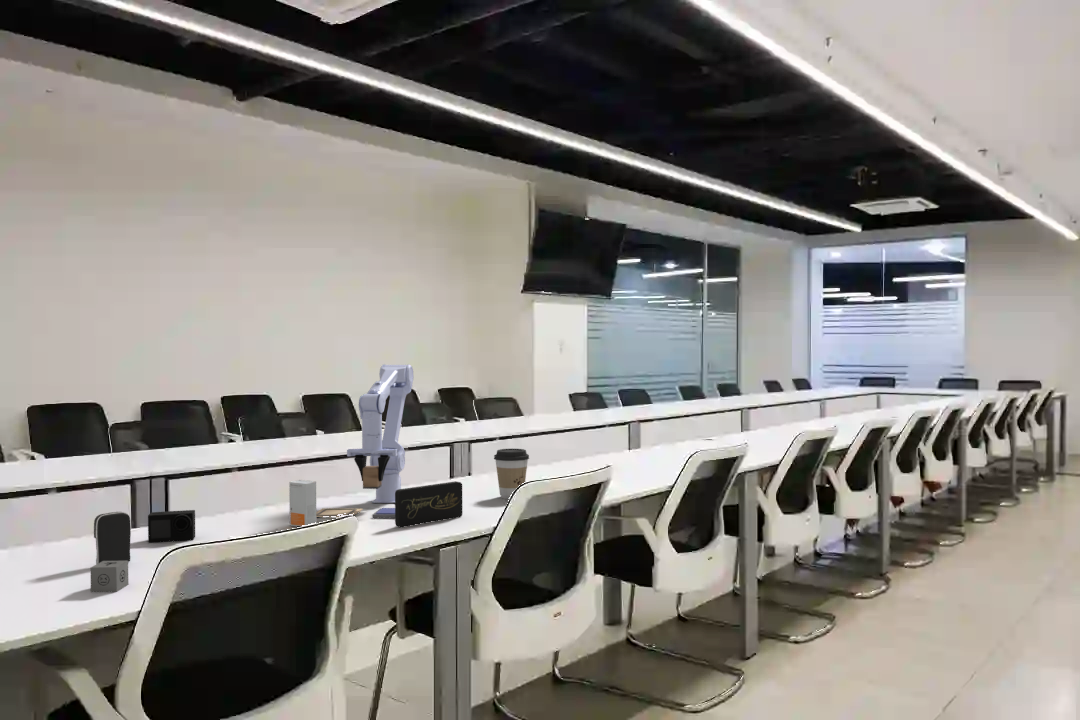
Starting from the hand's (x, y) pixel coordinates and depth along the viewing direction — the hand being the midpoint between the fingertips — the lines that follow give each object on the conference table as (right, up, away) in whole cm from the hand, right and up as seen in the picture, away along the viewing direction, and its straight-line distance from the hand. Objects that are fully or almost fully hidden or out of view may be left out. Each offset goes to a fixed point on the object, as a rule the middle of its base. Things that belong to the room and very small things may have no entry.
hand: (372, 480), depth 241 cm
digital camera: (-43, -10, -37) cm, 57 cm away
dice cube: (-37, -10, -78) cm, 87 cm away
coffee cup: (+40, -8, +20) cm, 46 cm away
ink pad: (+7, -9, -7) cm, 13 cm away
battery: (-46, -10, -59) cm, 75 cm away
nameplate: (+19, -9, -16) cm, 27 cm away
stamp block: (0, -2, 0) cm, 2 cm away
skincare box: (-14, -9, -21) cm, 27 cm away
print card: (-9, -9, -5) cm, 14 cm away
